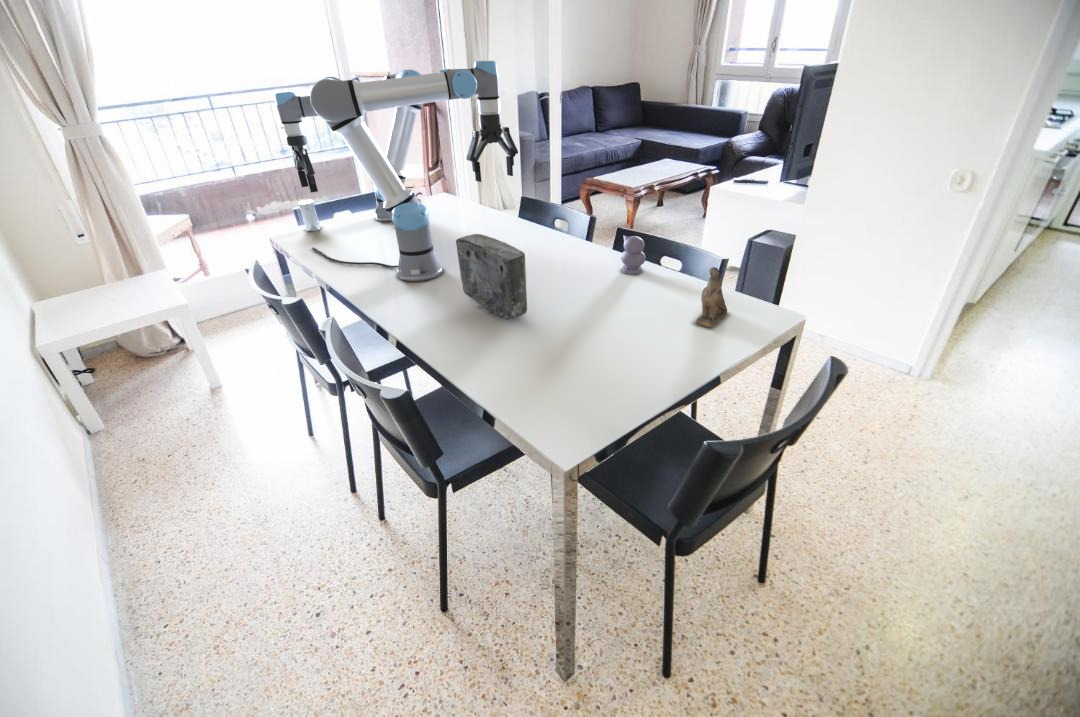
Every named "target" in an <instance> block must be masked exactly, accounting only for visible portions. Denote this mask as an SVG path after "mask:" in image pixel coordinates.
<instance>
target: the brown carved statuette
mask: <svg viewBox="0 0 1080 717" xmlns="http://www.w3.org/2000/svg"><path fill="white" fill-rule="evenodd" d="M708 273H709V275H710V276H709V278H708V279H707V280H708V281H707V284H706V286H705V287H704V288H703V290H702V292H701V297H700V298H701V309H702V312H701V315H700V316H699V317H698V318H697V319H696V321H695V324H696V325H699V326H703V327H705V328H712V327H714V326H715V325H716V324H717V323H719V321H721V320H722V319H723V318H725V317H726V316H727V315H728V307H727V304H726V301H725V298H724V293H723V290H722V287H723V281H722V279H721V278H720V270H719V269H718V268H717V267H715V266H712V267H711V268H710V269H709V270H708Z"/></svg>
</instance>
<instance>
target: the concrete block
mask: <svg viewBox="0 0 1080 717" xmlns="http://www.w3.org/2000/svg"><path fill="white" fill-rule="evenodd" d="M455 245H456V254H457V259H458V267H459V273H460V280H461V287H462V291H463V293H464V294H465V295H466V296H468V297H469V298H471V299H472V300H473V301H474V302H476V303H477V304H479V305H480V306H482V307H483V308H485V310H487V311H489V312H491V313H492V314H494V315H496V316H497V317H500V318H502V319H503V320H507V321H511V320H514V319H517V318H519V317H521V316H523V315H525V314H526V313H527V312H528V298H527V296H528V293H527V271H526V270H527V269H526V268H527V267H526V254H525V253H524V252H523V251H522V250H521V249H518V248H517V247H515V246H513V245H511V244H508V243H507V242H504V241H501V240H499V239H496V238H493V237H491V236H489V235H485V234H479V233H472V234H468V235H464V236H460V237H458V238H457V239H456V240H455Z"/></svg>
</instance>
